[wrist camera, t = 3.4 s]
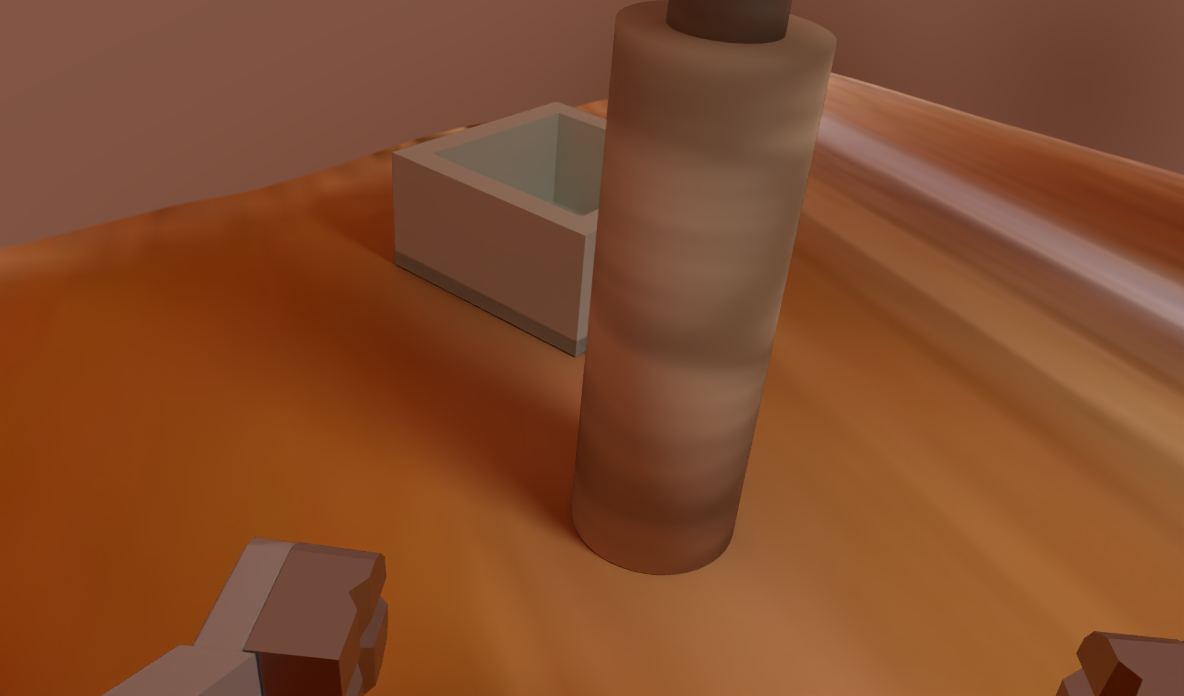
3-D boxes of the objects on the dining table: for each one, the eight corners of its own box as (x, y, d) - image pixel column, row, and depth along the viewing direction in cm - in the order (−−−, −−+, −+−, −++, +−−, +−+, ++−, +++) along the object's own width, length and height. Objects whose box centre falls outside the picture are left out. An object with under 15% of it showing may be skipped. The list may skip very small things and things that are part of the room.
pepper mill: (636, 443, 29) (715, -158, 20) (763, 514, 27) (911, -127, 18) (537, 516, 26) (581, -153, 17) (671, 602, 24) (798, -116, 15)
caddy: (550, 200, 43) (556, 101, 41) (719, 271, 39) (738, 164, 36) (395, 263, 37) (391, 152, 35) (575, 356, 33) (585, 236, 30)
